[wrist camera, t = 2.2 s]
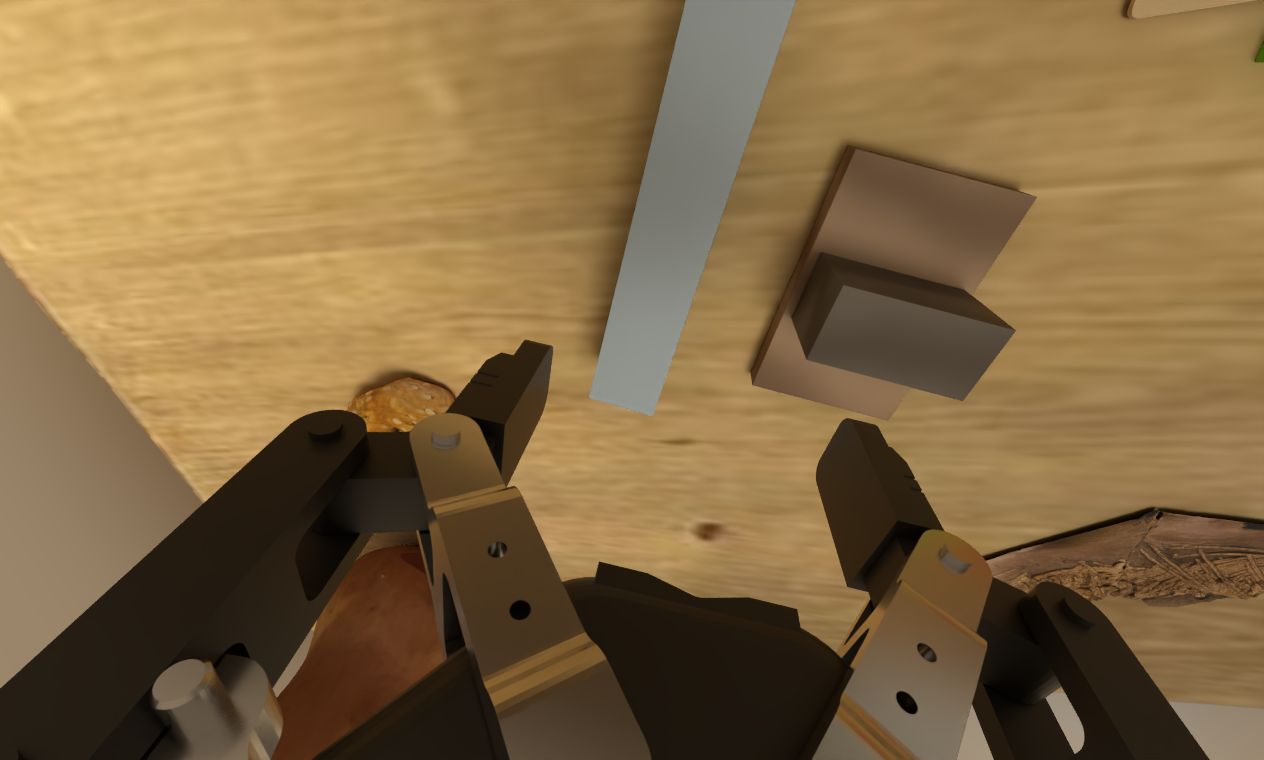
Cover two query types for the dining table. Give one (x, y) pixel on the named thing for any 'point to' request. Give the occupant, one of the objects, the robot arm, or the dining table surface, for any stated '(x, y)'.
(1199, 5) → the popsicle
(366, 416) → the bagel
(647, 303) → the batten
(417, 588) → the butternut squash
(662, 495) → the dining table surface
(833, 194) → the ridge stand
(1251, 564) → the wooden fragment
